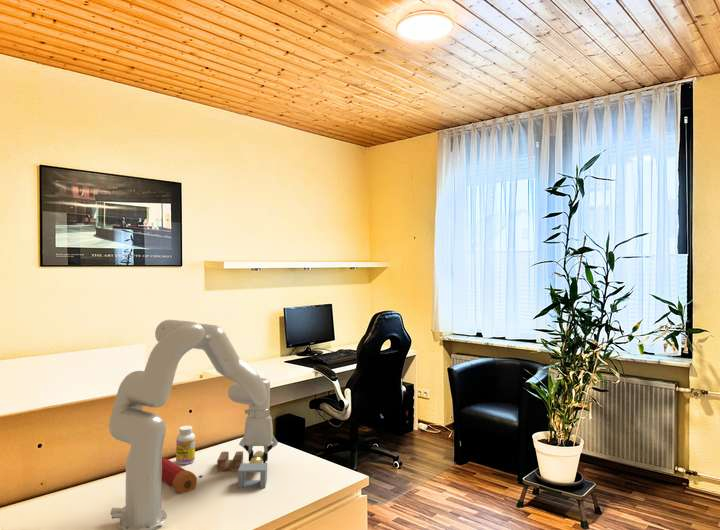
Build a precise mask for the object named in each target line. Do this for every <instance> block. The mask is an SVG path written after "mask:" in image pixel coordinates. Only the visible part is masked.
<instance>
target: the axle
mask: <svg viewBox="0 0 720 530" xmlns="http://www.w3.org/2000/svg"><path fill="white" fill-rule="evenodd" d="M263 453H264V451H262V450H257V451H255V452H254V453H253V457H252V459H251V461H249V463H263Z"/></svg>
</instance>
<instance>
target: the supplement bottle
mask: <svg viewBox="0 0 720 530" xmlns="http://www.w3.org/2000/svg"><path fill="white" fill-rule="evenodd" d="M175 444H176V445H175V447H176V449H175V450H176V451H175V462H176V464H177V465H181V464H186V465H189V463H190V464H192V463H194V462H195V459H196V458H195V457H196V456H195V455H196V453H195V452H196V435H195V433H193V426H192V425H183V426H180V427H179V434H178V435H176V442H175Z"/></svg>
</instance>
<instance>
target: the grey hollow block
mask: <svg viewBox="0 0 720 530" xmlns="http://www.w3.org/2000/svg"><path fill="white" fill-rule="evenodd" d="M247 473H259V474H260V475H259V476H260V477H259V479H253V480H252V479H251V480H249V479H248V480H246V479H247V475H246V474H247ZM267 482H268V462H266V463H263V462H262V463H250V462H248V463H246V462H245V463H244V462H243V463H241V465H240V467H239V470H238V471H237V489H265V488H266V486H267Z"/></svg>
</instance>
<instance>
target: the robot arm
mask: <svg viewBox="0 0 720 530" xmlns="http://www.w3.org/2000/svg"><path fill="white" fill-rule="evenodd" d="M154 333H155V334H154V335H155V336H154V337H155V339H156V341H157V343H156V344H155V345H154V347H153V348H152V350H151V352H150V353H149V356H148V358H147V362H146V365H145V369H144V371H143V370H134V371H131V372H130V373H128V374H127V375H126V376H125V377H124V378H123V379H122V381H121V382H120V385H119V386H118V390H117V393H116V397H115V400H114V404H113V405H112V406H113V407H112V411H111V414H110V417H109V423H108V430H109V433H110V435H111V436H112V438H114V439H115V440H118V441H120V442H123V443H126V444H128V445H130V449H129V452H128V454H127V456H126V459H125V460H126V461H125V505H124V506H123V507H112V508H111V510H110V515H111V519H120V520H119V524H118V527H119V530H158V529H159V528H161V527H162V524H163V523H164V522H165V521H167V517H168V513H167V512H166V511H164V509H162V492H163V490H162V482H163V481H162V459H163V447H164V446H163V445H164V441H165V437H166V429H167V426H166V423H165V420H164V419H163V418H162V417H161V416H160V415H159V414H157V413H154V412H151V411H148V410H147V411H146V410H143V408H144V407H148V408H154V409H155V408H160V407H163V406H164V405H166V403H167V402H168V399H169V397H170V394H171V391H172V387H173V384H174V380H175V375H176V371H177V368H178V365H179V362H180V361H181V359H182V358H183V357H184V355H186V353H188V352H190V351H191V350H193V349H195V350H202V351H204V353H205V355H207V357H208V359H209V361H210V362H211V365H212V366H213V368H214V369H215V371H216V373H219V375H222V376H223V377H225V378H226V379H229V380H231V381H233V383H231V385H230V386H229V387H228V390H227V397H228V399H230V400H231V401H232V402H234V403H237V404H242V405H248V408H247V409H244V414H247V416H246V418H245V423H244V434H243V437H242V438H241V439H240V441H239V443H238V445H239V446H240V447H242V448H243V449H244V450H246V452H247V454H248V462H250V461H251V459H252V457H253V456H254V454H255V452H254V450H253V448H254V447H263V449H264V450H263V462H262V463H267V462H268V458H269V455H268V454H269V452H270V451H271V450H272V449H273V448H275V447H276V446H277V445H278V444H279V442H278V440H277V438H275V435H274V430H273V429H274V428H273V427H274V426H273V418H272V416H271V415H270V412H271V410H270V409H271V408H270V406H271V405H270V403H271V381H270V379H268V378H264V377H261V376H260V375H259V373H258V372H257V371H256V370H255V369H253V368H252V367H251V366H250V365H249V364H248V363H247V362H246V361H245V360H243V359H242V358H241V357H240V356H239V355H238V353H237V352H236V349H235V348H234V346H233V344H232V342H231V341H230V339H229V337H228V336H227V334H226V331H224V329H223V328H222V327H220V326H219V325H215V324H207V323H197V322H195V321H190V320H189V321H188V320H178V319H177V320H176V319H165V320H162V321H161V322H160V323H159V324H158V325H157V326H156V329H155V331H154Z"/></svg>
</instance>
